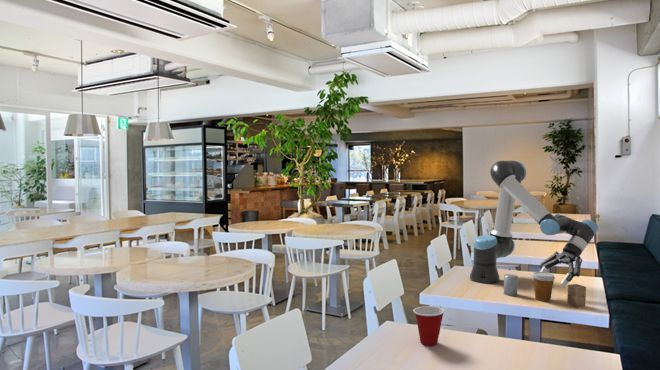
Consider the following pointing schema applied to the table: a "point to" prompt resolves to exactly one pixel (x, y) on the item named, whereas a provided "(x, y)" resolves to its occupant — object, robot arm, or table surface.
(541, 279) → the disposable coffee cup
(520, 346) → the table surface
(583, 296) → the walnut block
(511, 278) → the grey rounded cylinder
